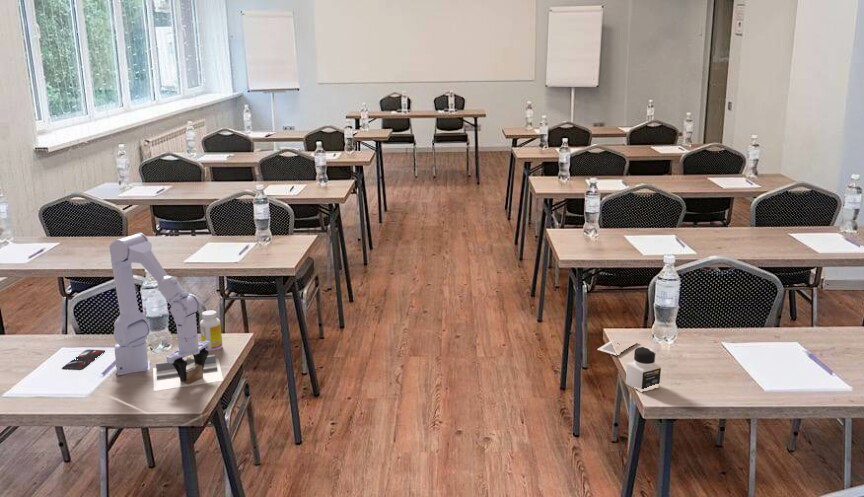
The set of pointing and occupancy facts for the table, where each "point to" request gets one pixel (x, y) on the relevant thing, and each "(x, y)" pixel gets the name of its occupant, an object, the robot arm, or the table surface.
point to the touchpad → (608, 348)
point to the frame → (193, 373)
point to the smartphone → (83, 359)
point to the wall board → (169, 377)
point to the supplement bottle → (211, 330)
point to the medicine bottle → (643, 369)
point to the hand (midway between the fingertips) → (191, 376)
